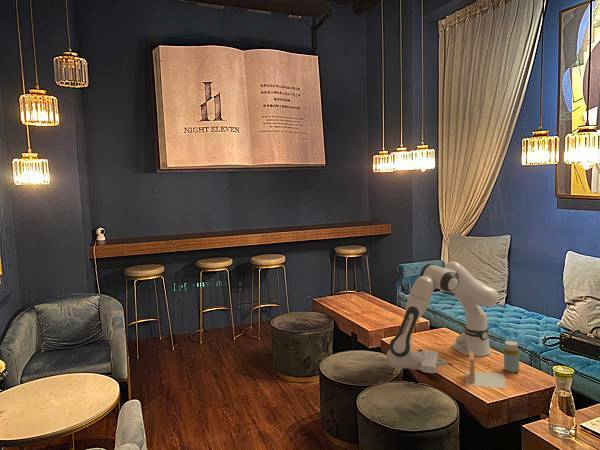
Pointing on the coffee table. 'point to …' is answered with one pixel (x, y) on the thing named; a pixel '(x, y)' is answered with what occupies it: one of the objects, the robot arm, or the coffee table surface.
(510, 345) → the bottle
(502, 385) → the mat
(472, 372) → the tile
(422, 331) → the coffee table surface
